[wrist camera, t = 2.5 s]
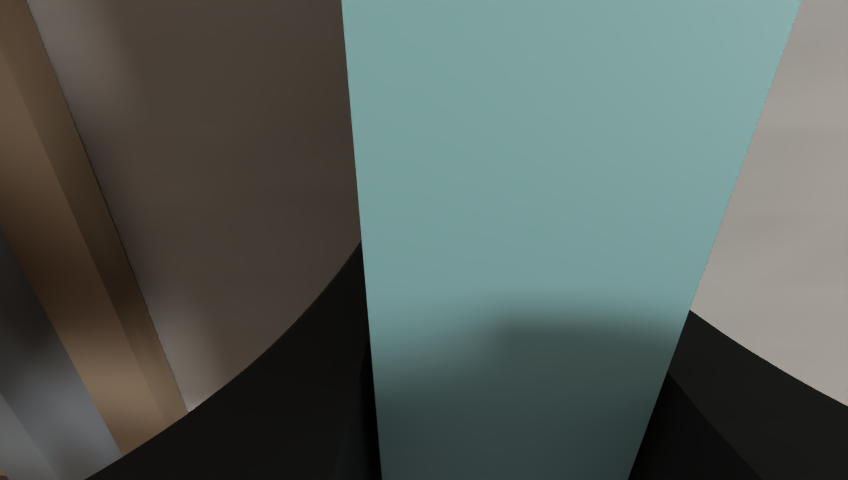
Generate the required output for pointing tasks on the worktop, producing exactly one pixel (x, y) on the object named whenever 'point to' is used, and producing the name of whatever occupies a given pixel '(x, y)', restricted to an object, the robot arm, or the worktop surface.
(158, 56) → the worktop surface
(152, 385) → the track board
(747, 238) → the worktop surface
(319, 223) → the worktop surface
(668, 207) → the long teal rectangular block
